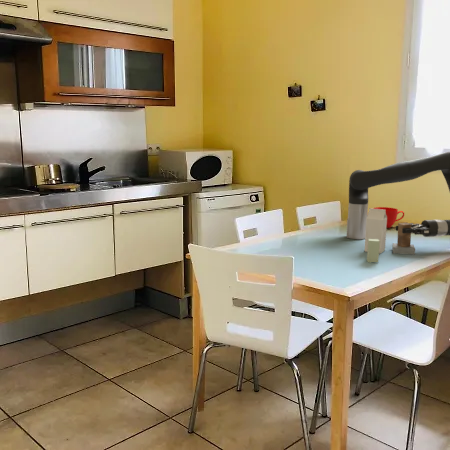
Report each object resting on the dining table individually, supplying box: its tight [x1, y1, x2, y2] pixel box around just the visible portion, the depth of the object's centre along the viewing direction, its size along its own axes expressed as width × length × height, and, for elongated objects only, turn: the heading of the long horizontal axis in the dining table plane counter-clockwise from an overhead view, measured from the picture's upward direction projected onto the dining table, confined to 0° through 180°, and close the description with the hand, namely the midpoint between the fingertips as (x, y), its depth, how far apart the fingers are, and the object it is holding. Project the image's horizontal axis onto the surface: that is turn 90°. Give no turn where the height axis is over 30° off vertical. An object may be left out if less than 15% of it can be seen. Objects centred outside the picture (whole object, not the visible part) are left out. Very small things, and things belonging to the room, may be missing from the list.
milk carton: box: [364, 207, 387, 254], centre depth 229 cm, size 7×7×19 cm
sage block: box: [366, 239, 380, 263], centre depth 214 cm, size 4×4×9 cm
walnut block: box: [396, 222, 412, 247], centre depth 230 cm, size 4×4×10 cm
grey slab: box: [391, 242, 416, 256], centre depth 231 cm, size 9×9×3 cm
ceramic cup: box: [372, 206, 405, 229], centre depth 284 cm, size 13×17×10 cm
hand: (399, 229), depth 229 cm, fingers open, 5 cm apart
